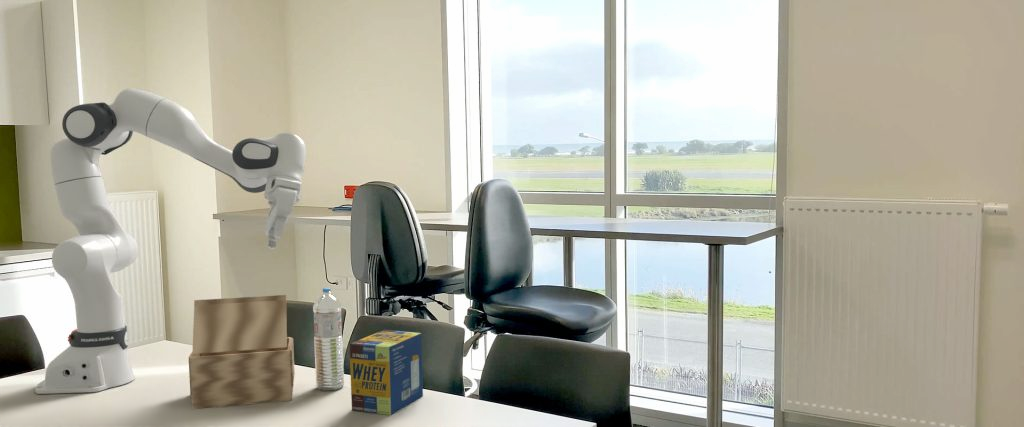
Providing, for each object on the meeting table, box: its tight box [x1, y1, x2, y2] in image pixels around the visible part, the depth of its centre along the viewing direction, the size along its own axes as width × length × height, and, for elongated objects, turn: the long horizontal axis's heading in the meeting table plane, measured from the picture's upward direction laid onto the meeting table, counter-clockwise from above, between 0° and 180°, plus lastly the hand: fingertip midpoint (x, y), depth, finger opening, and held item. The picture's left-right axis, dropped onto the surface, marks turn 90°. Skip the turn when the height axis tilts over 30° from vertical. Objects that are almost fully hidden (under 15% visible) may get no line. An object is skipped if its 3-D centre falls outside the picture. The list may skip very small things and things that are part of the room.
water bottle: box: [312, 287, 345, 392], centre depth 194 cm, size 7×7×25 cm
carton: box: [188, 336, 296, 410], centre depth 189 cm, size 23×14×12 cm, turn 104°
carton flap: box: [191, 294, 288, 354], centre depth 185 cm, size 21×13×1 cm
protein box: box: [349, 329, 424, 416], centre depth 181 cm, size 10×15×16 cm
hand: (274, 242), depth 197 cm, fingers open, 8 cm apart
